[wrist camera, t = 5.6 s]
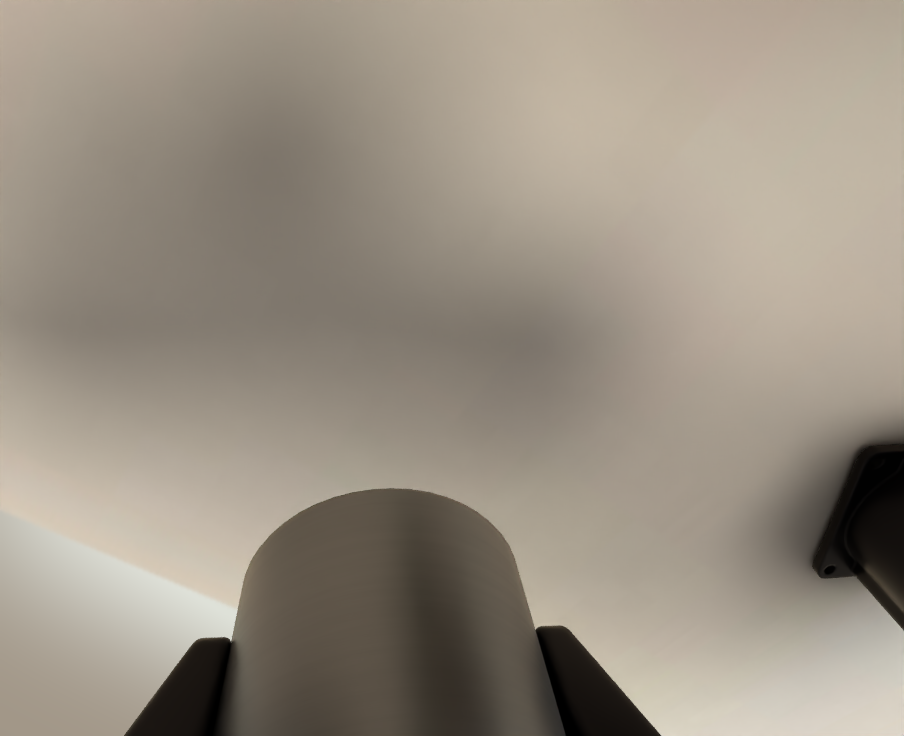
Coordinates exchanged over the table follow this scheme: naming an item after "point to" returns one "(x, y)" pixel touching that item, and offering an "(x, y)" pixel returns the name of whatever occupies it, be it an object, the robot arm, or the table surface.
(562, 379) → the table surface
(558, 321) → the table surface
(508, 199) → the table surface
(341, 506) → the cylinder
